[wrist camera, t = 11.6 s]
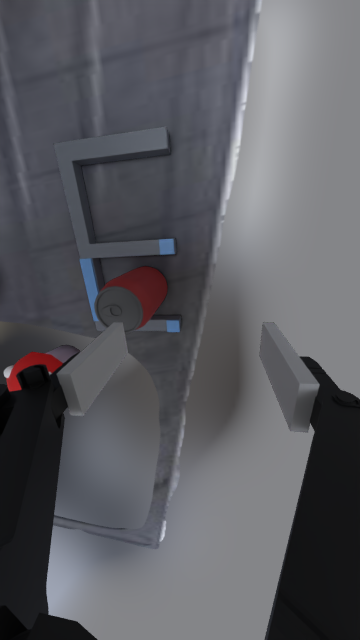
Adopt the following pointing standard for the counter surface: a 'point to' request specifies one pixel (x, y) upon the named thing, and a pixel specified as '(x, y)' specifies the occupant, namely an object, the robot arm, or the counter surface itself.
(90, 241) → the duct comb
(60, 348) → the mushroom
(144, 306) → the beer can
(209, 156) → the counter surface
